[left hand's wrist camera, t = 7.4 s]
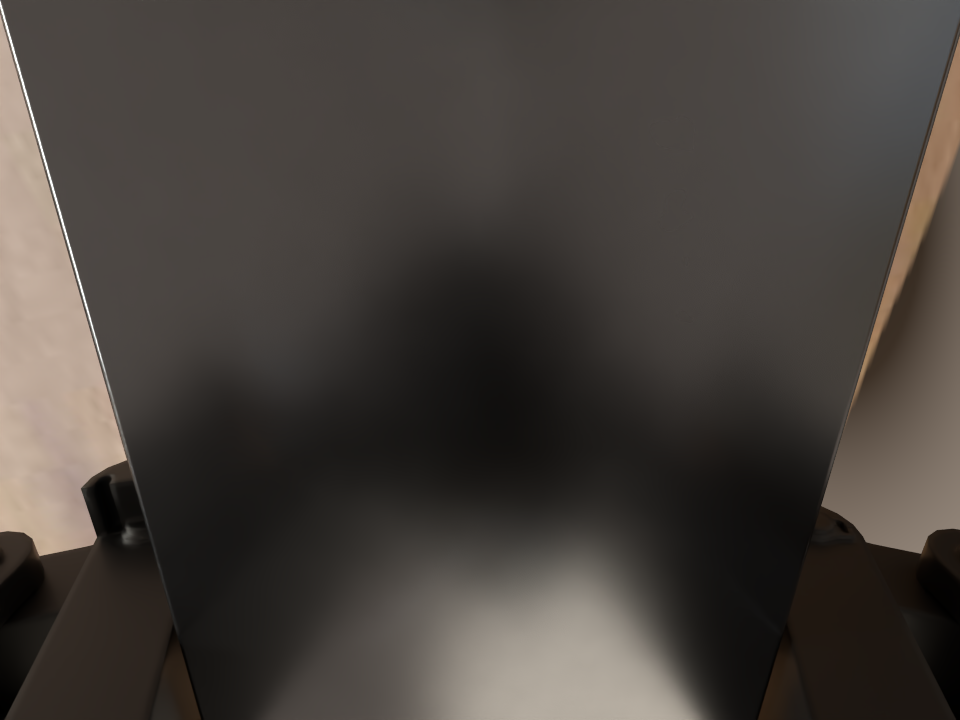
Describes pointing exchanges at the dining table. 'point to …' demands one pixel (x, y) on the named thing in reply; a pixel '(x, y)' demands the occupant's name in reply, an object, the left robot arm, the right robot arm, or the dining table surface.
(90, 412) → the dining table surface
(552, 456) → the box
